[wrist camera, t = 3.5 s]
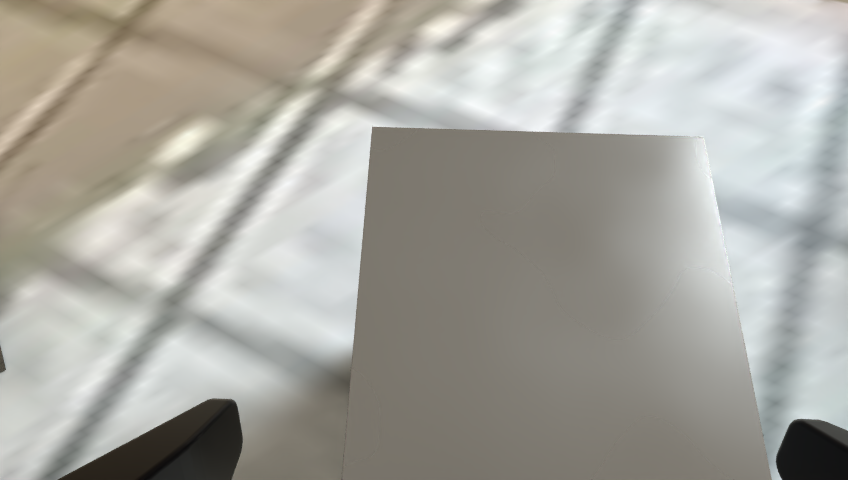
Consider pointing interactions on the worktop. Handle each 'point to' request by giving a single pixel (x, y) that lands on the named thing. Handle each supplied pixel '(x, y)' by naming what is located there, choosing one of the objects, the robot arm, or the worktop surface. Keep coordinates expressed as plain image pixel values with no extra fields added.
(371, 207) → the tall metal block
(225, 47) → the worktop surface
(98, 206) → the worktop surface
